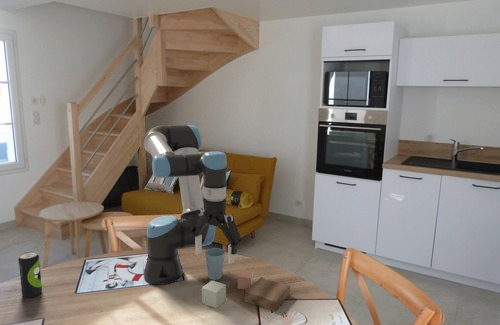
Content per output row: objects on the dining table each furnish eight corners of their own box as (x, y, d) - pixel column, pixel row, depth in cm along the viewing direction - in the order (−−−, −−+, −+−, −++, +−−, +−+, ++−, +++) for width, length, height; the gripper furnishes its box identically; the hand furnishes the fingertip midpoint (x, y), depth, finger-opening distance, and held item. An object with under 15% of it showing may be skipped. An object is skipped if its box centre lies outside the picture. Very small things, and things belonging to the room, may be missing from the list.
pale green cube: (201, 303, 130) (201, 287, 129) (211, 295, 136) (212, 280, 134) (216, 308, 128) (216, 292, 126) (225, 300, 133) (226, 284, 132)
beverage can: (19, 293, 134) (15, 254, 131) (38, 287, 138) (35, 249, 135) (25, 300, 129) (21, 260, 127) (44, 293, 134) (41, 254, 131)
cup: (223, 271, 154) (223, 247, 152) (225, 280, 146) (226, 255, 144) (205, 272, 152) (204, 248, 150) (206, 282, 145) (206, 256, 143)
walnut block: (244, 302, 132) (244, 291, 132) (260, 287, 143) (260, 277, 142) (275, 312, 127) (275, 301, 126) (289, 296, 137) (290, 286, 136)
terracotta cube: (237, 288, 140) (237, 276, 140) (240, 282, 145) (240, 270, 144) (250, 290, 140) (250, 278, 139) (252, 283, 145) (253, 271, 144)
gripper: (178, 195, 127) (179, 253, 131) (241, 207, 115) (240, 271, 119) (191, 190, 134) (192, 246, 138) (253, 201, 122) (251, 262, 126)
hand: (214, 257), depth 128 cm, fingers open, 13 cm apart
